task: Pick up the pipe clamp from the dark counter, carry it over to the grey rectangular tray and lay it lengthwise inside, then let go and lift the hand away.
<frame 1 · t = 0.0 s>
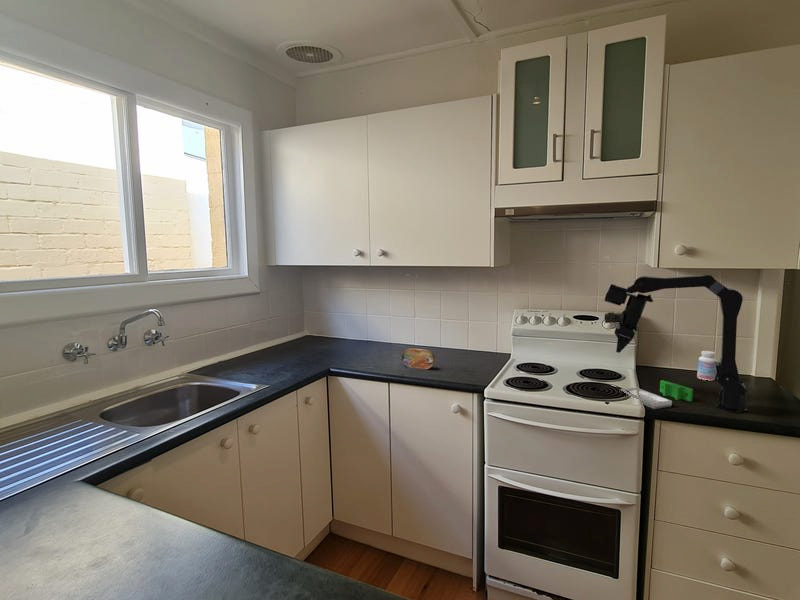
hand: (619, 349, 162), 15 cm above the counter, tool pointing down, fingers open, 9 cm apart
pipe clamp: (672, 397, 158), on the counter
grey rectangular tray: (644, 400, 154), on the counter
pill bottle: (705, 379, 179), on the counter
tin: (418, 368, 193), on the counter
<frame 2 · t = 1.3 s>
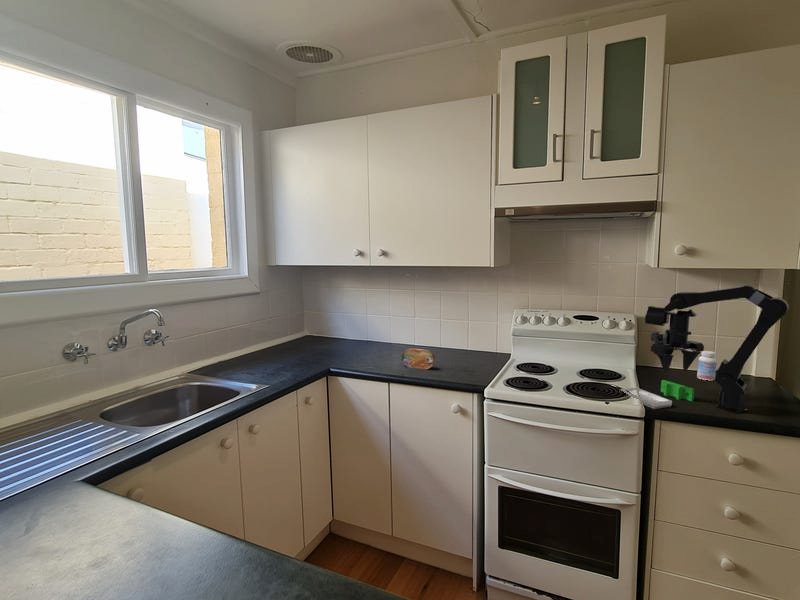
hand: (675, 371, 156), 9 cm above the counter, tool pointing down, fingers open, 9 cm apart
nothing on the counter moved.
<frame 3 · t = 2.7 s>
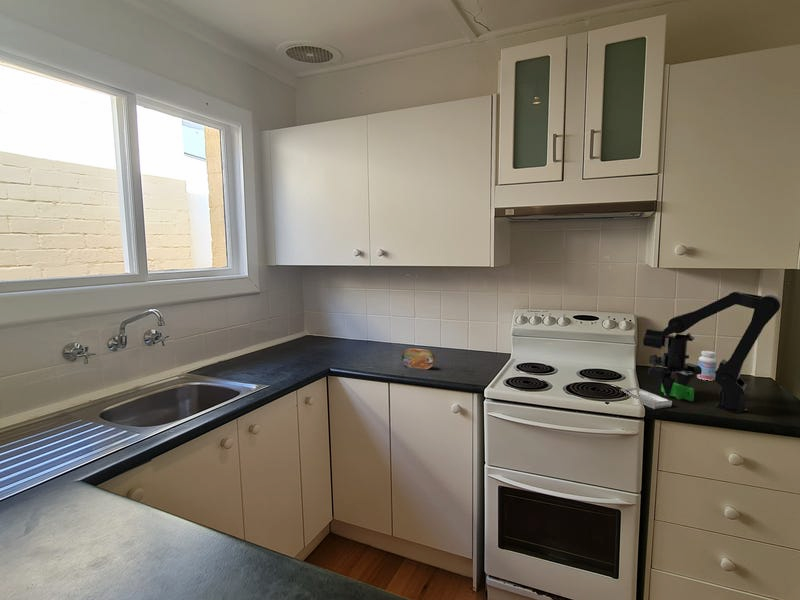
hand: (673, 393, 157), 1 cm above the counter, tool pointing down, fingers open, 5 cm apart
pipe clamp: (674, 396, 158), on the counter, touching gripper
everything else where it was.
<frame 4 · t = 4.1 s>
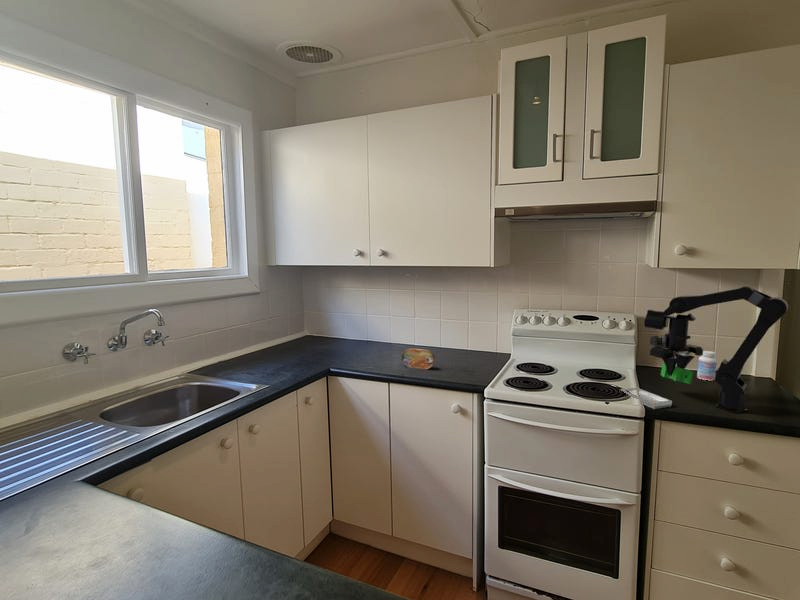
hand: (674, 374, 157), 8 cm above the counter, tool pointing down, fingers closed on pipe clamp, 4 cm apart
pipe clamp: (672, 379, 157), point 6 cm above the counter, touching gripper
everything else where it was.
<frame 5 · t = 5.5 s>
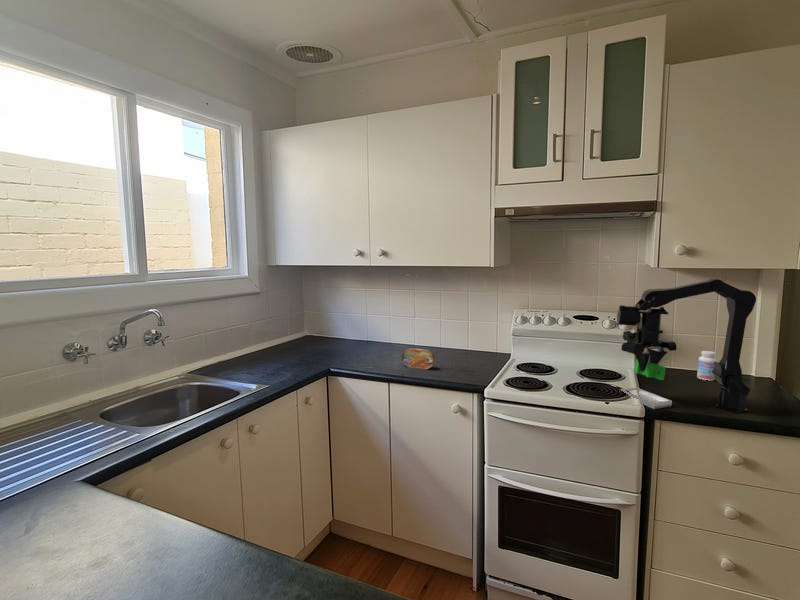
hand: (647, 370, 152), 11 cm above the counter, tool pointing down, fingers closed on pipe clamp, 4 cm apart
pipe clamp: (645, 375, 153), point 9 cm above the counter, touching gripper
everything else where it was.
when the fingers open (3 cm above the counter, at t = 7.4 s): pipe clamp stays where it is, resting on grey rectangular tray.
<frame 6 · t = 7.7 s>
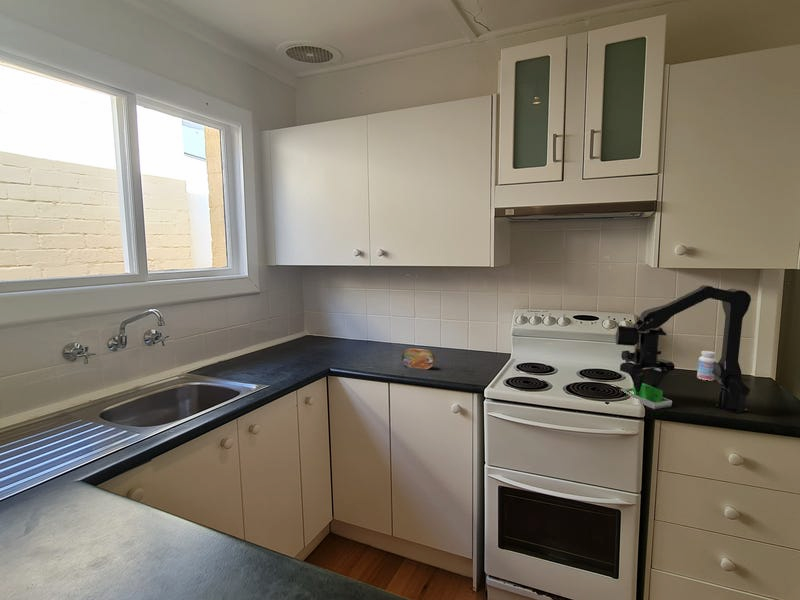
hand: (645, 390, 153), 3 cm above the counter, tool pointing down, fingers open, 7 cm apart
pipe clamp: (643, 398, 154), point 1 cm above the counter, touching grey rectangular tray
everything else where it was.
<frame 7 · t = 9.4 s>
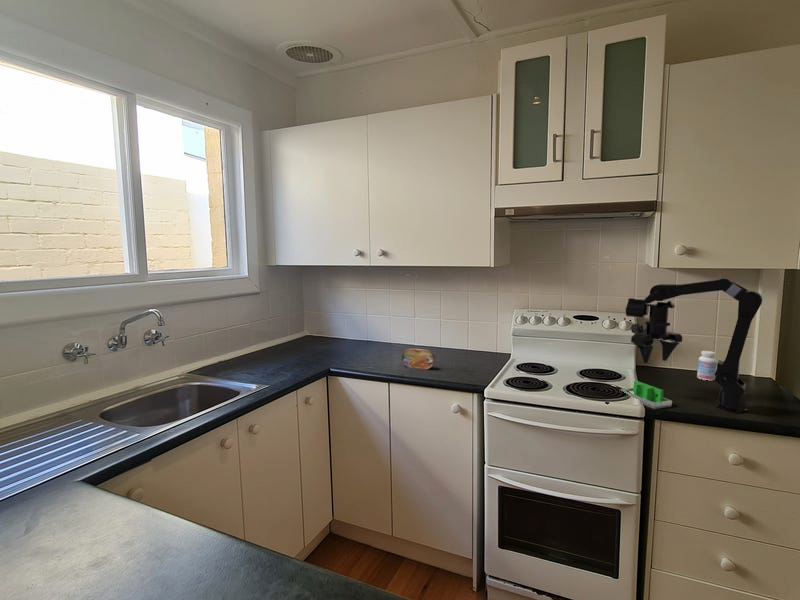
hand: (655, 361, 159), 12 cm above the counter, tool pointing down, fingers open, 9 cm apart
nothing on the counter moved.
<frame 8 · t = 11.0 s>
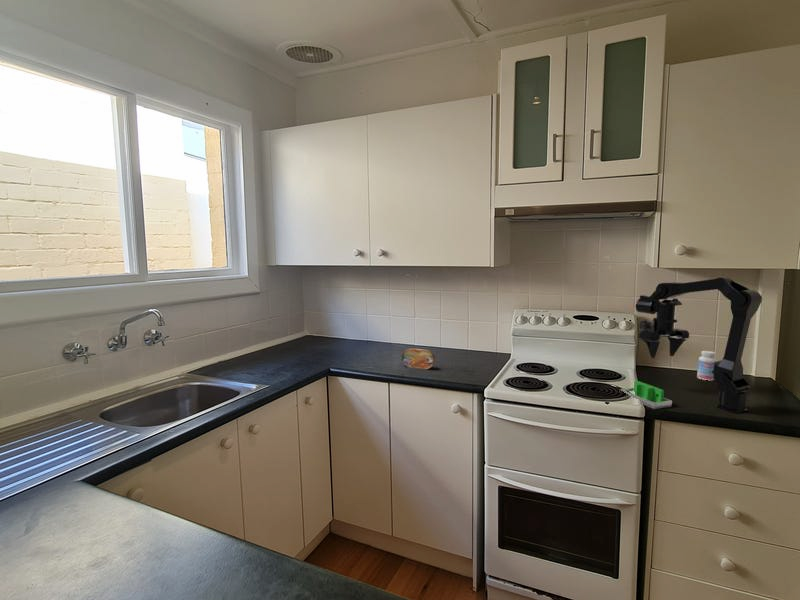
hand: (662, 357, 166), 12 cm above the counter, tool pointing down, fingers open, 9 cm apart
nothing on the counter moved.
at the end: pipe clamp 0.4 cm off-centre on the grey rectangular tray, point 0.6 cm above the grey rectangular tray's base; the gripper is holding nothing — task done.
